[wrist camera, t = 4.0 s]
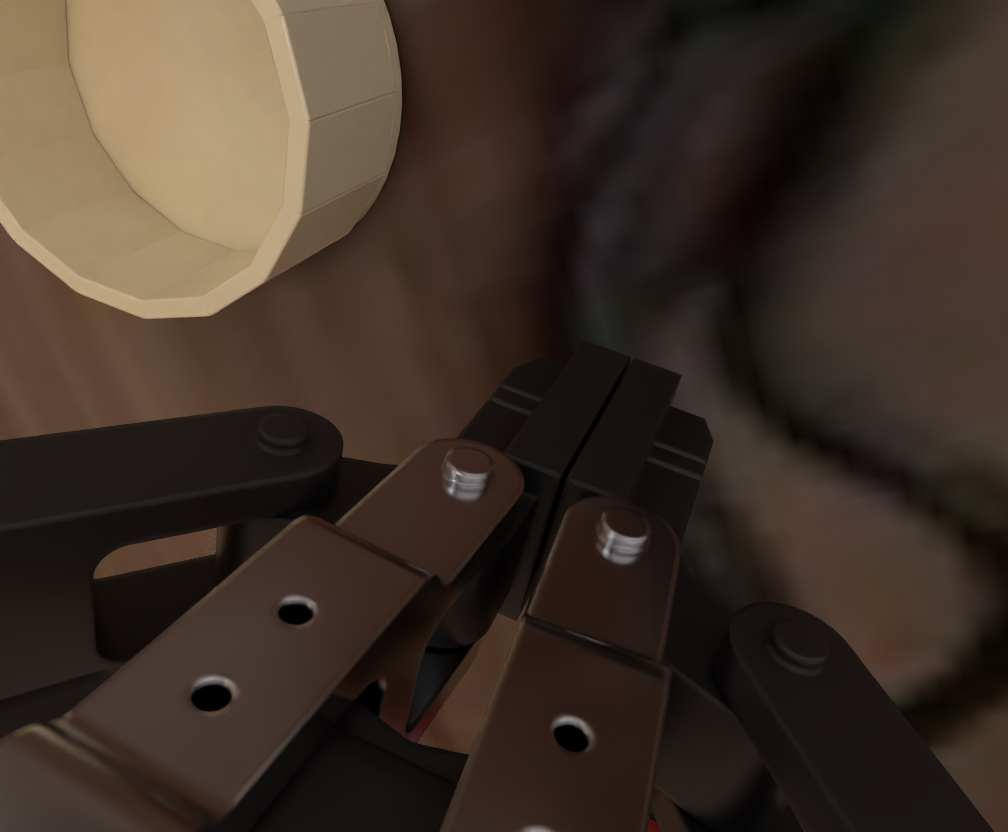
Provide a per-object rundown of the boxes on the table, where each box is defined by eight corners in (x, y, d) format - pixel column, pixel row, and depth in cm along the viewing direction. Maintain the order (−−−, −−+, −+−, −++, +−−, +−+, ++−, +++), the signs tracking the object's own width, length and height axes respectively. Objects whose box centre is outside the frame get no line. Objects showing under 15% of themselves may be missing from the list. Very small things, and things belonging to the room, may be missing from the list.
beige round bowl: (54, -200, 21) (-118, -227, 18) (433, -99, 20) (329, -105, 16) (75, 199, 27) (-54, 243, 23) (375, 308, 25) (286, 376, 21)
